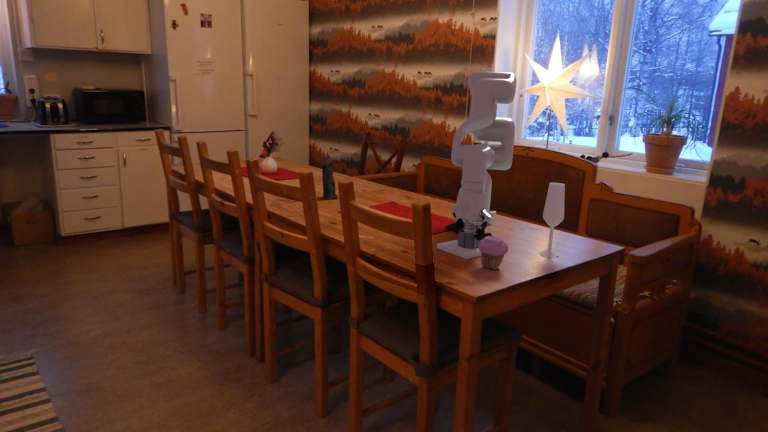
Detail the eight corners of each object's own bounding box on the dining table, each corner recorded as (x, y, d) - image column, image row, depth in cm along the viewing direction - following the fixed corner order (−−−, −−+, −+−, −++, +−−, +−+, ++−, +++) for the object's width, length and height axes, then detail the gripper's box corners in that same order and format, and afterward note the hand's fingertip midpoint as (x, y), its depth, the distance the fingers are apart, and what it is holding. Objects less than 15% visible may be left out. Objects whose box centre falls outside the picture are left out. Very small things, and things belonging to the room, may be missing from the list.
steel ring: (468, 241, 186) (469, 227, 185) (483, 246, 180) (485, 232, 179) (453, 244, 181) (454, 230, 180) (468, 249, 176) (469, 235, 175)
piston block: (469, 241, 191) (471, 215, 189) (499, 251, 181) (502, 224, 178) (436, 247, 182) (438, 220, 180) (466, 259, 171) (468, 230, 169)
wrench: (456, 231, 211) (504, 247, 184) (445, 233, 209) (492, 250, 182) (456, 218, 210) (504, 233, 183) (445, 220, 208) (492, 235, 181)
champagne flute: (534, 253, 180) (542, 183, 174) (546, 250, 184) (554, 181, 178) (551, 258, 175) (559, 186, 169) (563, 255, 179) (572, 184, 173)
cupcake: (472, 268, 163) (474, 236, 161) (483, 261, 170) (486, 230, 168) (499, 274, 158) (502, 242, 156) (510, 267, 165) (513, 235, 163)
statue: (339, 198, 253) (340, 156, 248) (328, 200, 248) (328, 157, 243) (330, 196, 258) (330, 154, 253) (318, 198, 253) (318, 155, 248)
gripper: (446, 182, 180) (443, 231, 184) (485, 191, 167) (480, 244, 171) (462, 180, 185) (458, 228, 189) (501, 189, 172) (496, 240, 176)
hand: (469, 236), depth 180 cm, fingers open, 9 cm apart
